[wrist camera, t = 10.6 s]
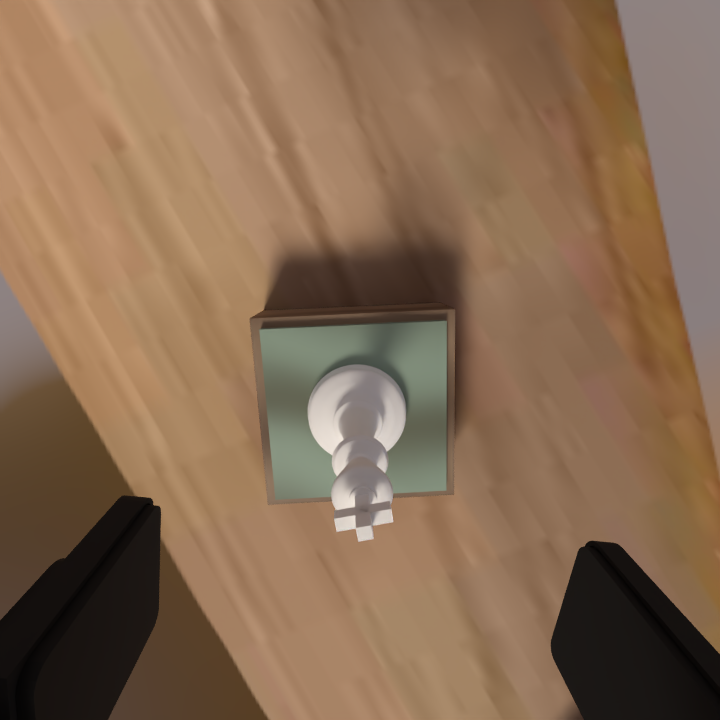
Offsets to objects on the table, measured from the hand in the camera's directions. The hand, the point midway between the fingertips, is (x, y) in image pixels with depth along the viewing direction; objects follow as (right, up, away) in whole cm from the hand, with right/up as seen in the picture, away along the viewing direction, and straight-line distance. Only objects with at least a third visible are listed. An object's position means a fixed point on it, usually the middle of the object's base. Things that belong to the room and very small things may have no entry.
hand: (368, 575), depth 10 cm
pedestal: (0, +3, +16) cm, 16 cm away
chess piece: (0, +2, +12) cm, 13 cm away
